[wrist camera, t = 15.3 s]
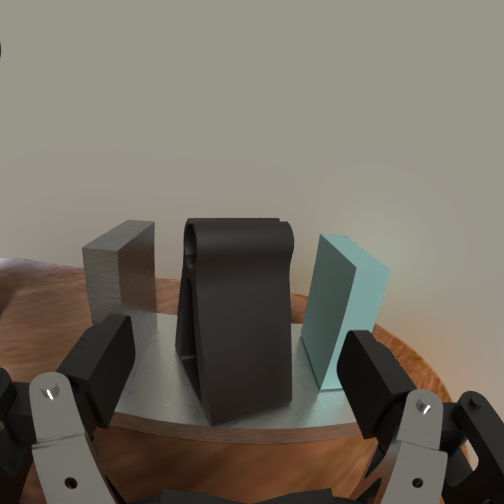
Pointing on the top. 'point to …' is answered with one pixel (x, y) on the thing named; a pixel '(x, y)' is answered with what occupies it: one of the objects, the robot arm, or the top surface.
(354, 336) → the robot arm
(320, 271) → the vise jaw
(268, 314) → the phone stand
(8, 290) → the top surface
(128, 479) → the top surface
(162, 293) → the top surface
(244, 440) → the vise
